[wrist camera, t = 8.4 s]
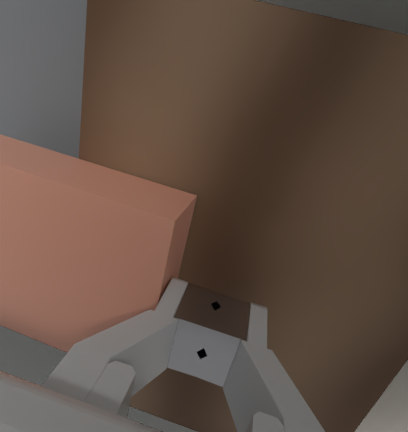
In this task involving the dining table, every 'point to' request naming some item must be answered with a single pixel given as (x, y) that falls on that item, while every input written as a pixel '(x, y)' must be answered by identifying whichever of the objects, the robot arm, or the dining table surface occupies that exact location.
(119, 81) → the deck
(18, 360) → the dining table surface
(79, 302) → the salmon pink rectangular block
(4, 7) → the mat
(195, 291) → the robot arm
